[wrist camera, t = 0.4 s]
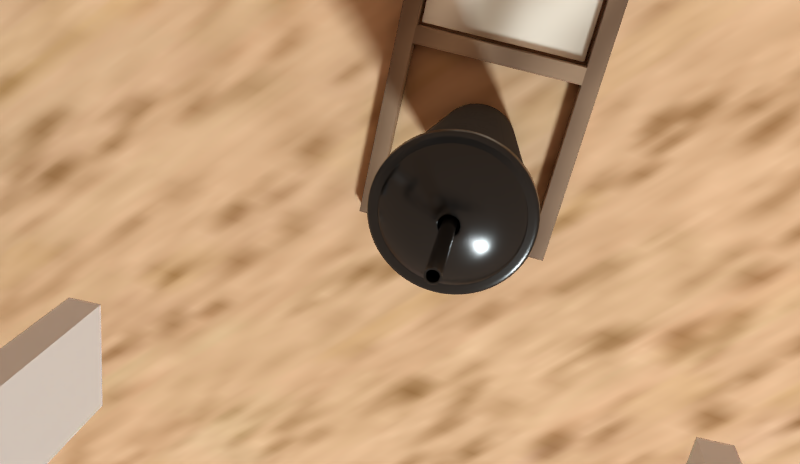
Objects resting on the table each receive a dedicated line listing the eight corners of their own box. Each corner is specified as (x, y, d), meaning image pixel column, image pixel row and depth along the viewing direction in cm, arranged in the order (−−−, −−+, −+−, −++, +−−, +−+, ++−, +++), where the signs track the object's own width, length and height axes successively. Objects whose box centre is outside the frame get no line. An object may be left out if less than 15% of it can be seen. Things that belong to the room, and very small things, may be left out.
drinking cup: (460, 53, 42) (403, 128, 24) (565, 128, 43) (587, 258, 24) (390, 155, 45) (291, 292, 27) (489, 224, 46) (458, 405, 27)
